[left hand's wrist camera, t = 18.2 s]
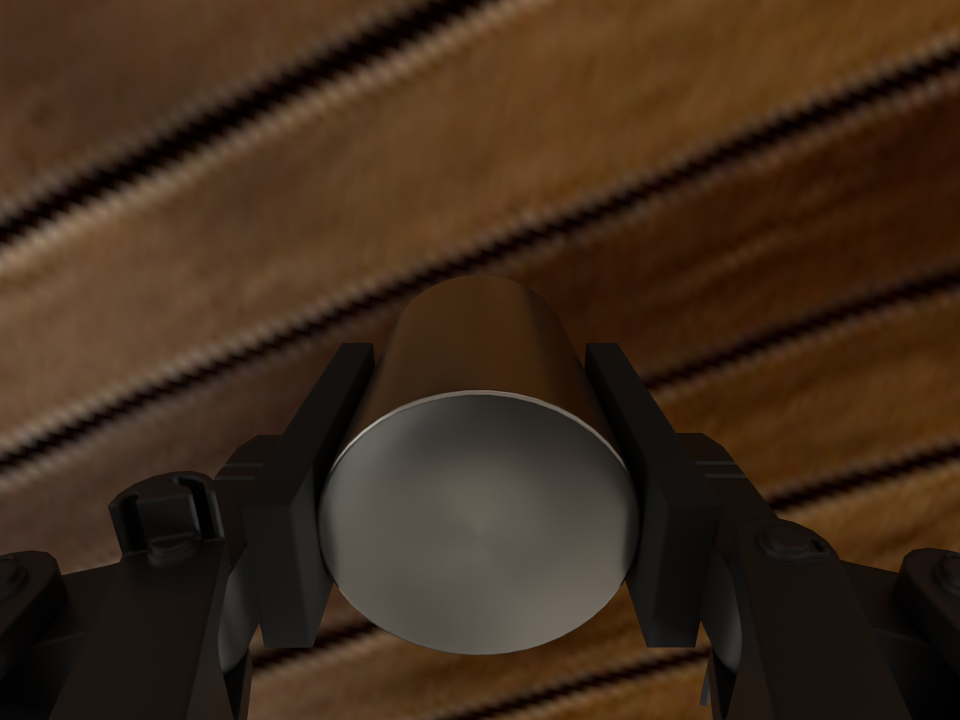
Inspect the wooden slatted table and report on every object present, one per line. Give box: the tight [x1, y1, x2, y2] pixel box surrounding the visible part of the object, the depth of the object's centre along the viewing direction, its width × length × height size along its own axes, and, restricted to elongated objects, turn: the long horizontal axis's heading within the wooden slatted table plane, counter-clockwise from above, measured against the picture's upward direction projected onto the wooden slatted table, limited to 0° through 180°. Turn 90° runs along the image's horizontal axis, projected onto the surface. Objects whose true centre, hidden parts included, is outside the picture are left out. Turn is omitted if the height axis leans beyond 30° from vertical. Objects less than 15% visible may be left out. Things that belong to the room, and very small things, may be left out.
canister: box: [317, 275, 641, 655], centre depth 12 cm, size 5×5×7 cm
